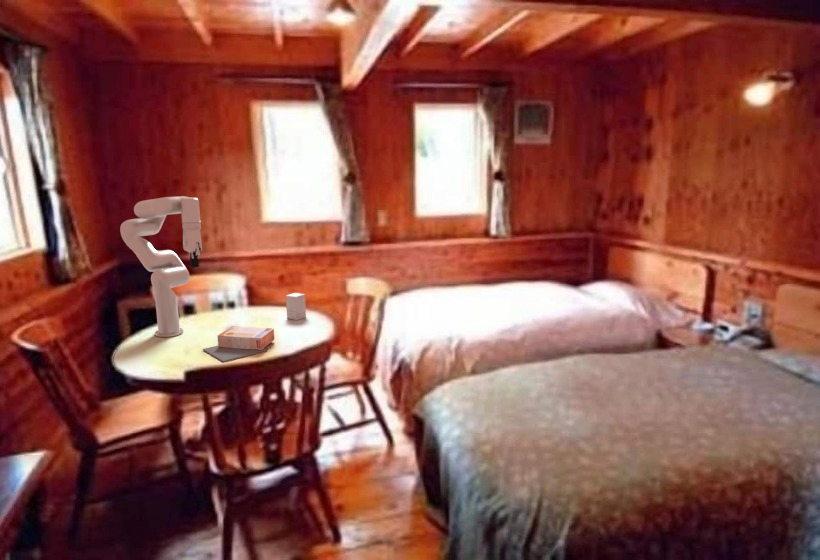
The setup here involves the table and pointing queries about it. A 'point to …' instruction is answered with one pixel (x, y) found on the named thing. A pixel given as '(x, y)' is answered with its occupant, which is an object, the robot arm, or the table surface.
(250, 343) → the cracker box
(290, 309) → the supplement box
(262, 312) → the table surface
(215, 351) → the mat
